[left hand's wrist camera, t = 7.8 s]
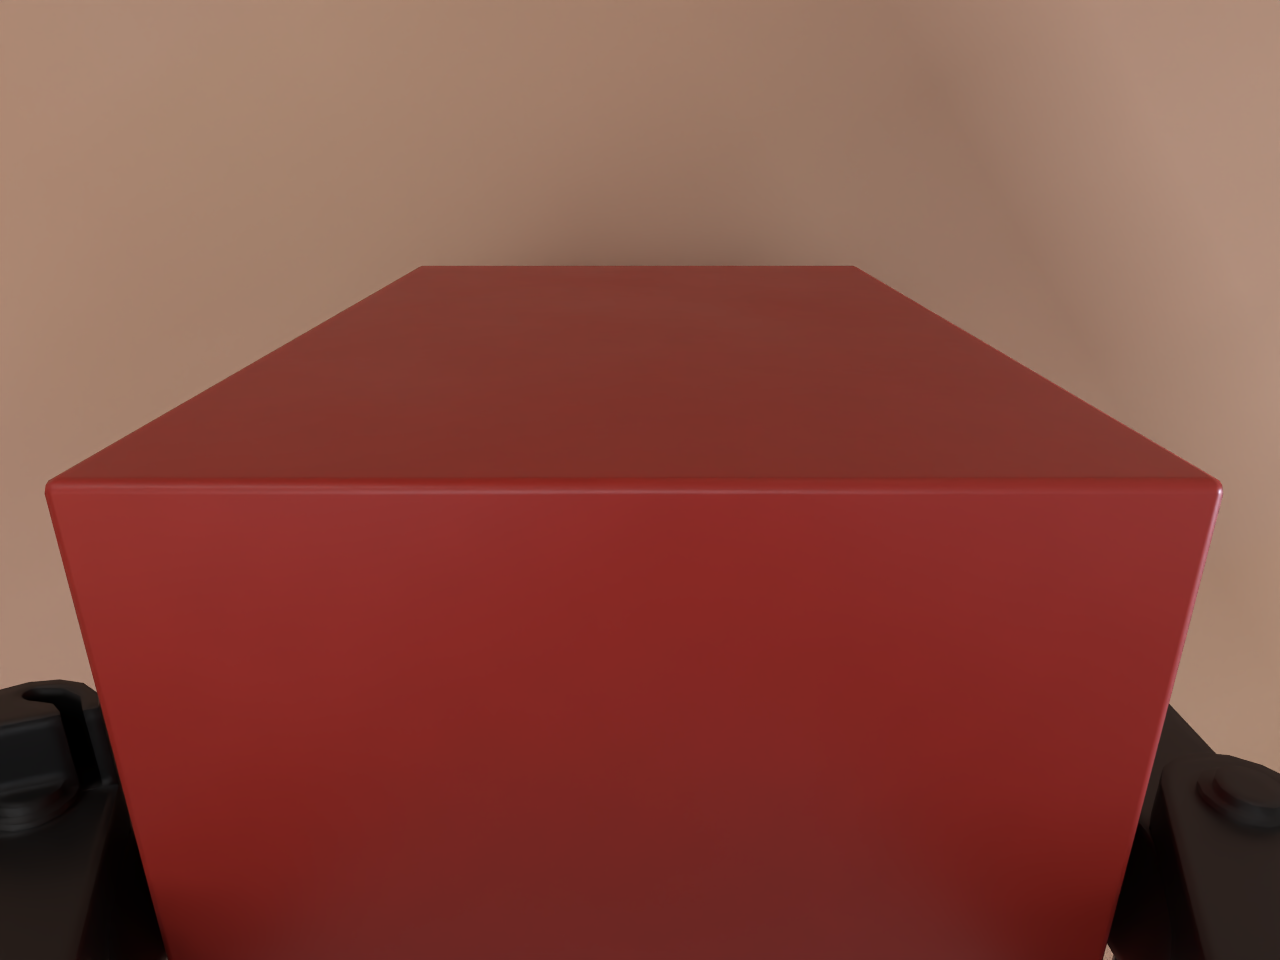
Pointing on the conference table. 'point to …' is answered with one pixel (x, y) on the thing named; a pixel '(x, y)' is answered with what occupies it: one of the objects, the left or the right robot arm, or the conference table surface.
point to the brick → (634, 629)
